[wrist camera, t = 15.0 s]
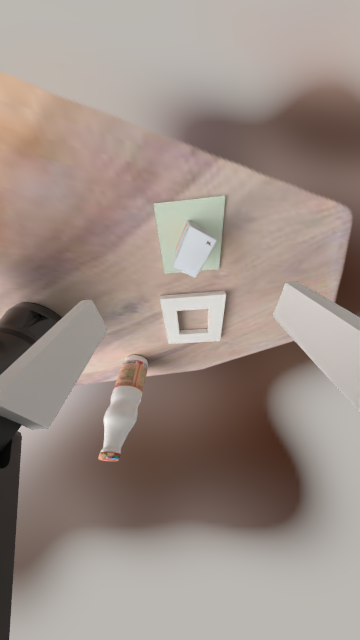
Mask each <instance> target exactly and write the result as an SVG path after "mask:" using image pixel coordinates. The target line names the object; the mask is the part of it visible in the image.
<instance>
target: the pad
mask: <svg viewBox="0 0 360 640" xmlns="http://www.w3.org/2000/svg"><path fill="white" fill-rule="evenodd" d="M224 207H225V196H217V197H208V198H199V199H190V200H181V201H172V202H163V203H154V210H155V217H156V223H157V230H158V236H159V243H160V249H161V255H162V262H163V268H164V274H168V273H180V272H181V271H179V270H177V269H175V268H173V262H174V255H175V249H176V247H177V245H178V242H179V240H180V237H181V235H182V232H183V230H184V227H185V225H186V222H187V220H189V221H191V222H193V223H195V224H196V225H198V226H200V227H201V228H203V229H205V230H206V231H207V232H208V233H210V234H211V235H212V236H213V237H214V238H215V239H217V242H216V243H215V245H214V247H213V249H212V251H211V252H210V254H209V256H208V258H207V260H206V262H205V264H204V265H203V267H202V268H201V270H200V271H203V270H215V269H219V265H220V253H221V242H222V230H223V219H224Z"/></svg>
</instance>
